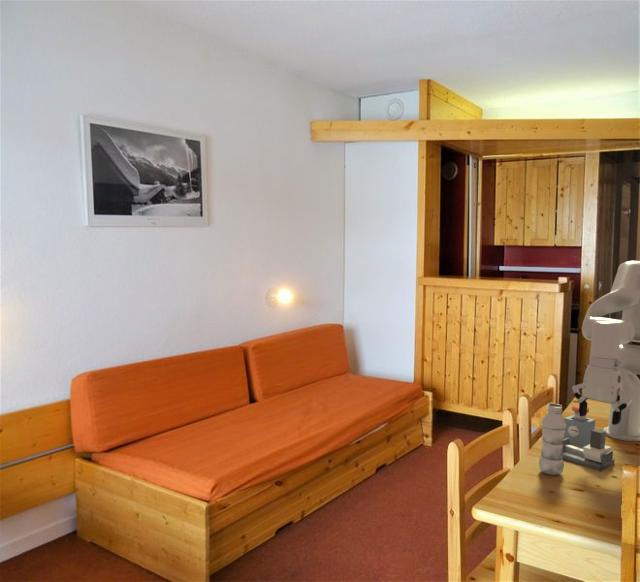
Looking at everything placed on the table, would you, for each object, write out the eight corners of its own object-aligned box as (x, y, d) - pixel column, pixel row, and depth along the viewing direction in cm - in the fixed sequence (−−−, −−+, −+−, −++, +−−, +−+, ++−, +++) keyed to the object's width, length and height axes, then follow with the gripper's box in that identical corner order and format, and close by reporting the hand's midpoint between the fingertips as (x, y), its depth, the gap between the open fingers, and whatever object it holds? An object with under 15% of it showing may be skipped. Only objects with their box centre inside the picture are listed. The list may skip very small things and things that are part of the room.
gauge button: (575, 418, 201) (576, 404, 201) (591, 423, 197) (592, 408, 197) (568, 421, 198) (569, 407, 197) (583, 426, 194) (584, 410, 193)
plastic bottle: (565, 479, 168) (570, 409, 166) (539, 476, 169) (544, 407, 167) (560, 470, 174) (565, 403, 172) (536, 467, 175) (540, 401, 173)
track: (569, 450, 190) (570, 436, 190) (614, 464, 180) (615, 449, 179) (555, 456, 185) (556, 442, 184) (600, 471, 174) (601, 456, 174)
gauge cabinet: (573, 437, 203) (574, 414, 202) (593, 443, 198) (595, 419, 197) (561, 441, 198) (563, 418, 197) (582, 448, 193) (584, 423, 192)
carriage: (593, 453, 183) (595, 426, 183) (610, 458, 180) (612, 430, 179) (582, 458, 179) (584, 430, 178) (599, 463, 175) (601, 435, 174)
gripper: (639, 367, 172) (634, 425, 173) (581, 356, 185) (576, 410, 187) (628, 369, 167) (623, 429, 169) (569, 358, 180) (564, 414, 182)
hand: (598, 419), depth 178 cm, fingers open, 9 cm apart
